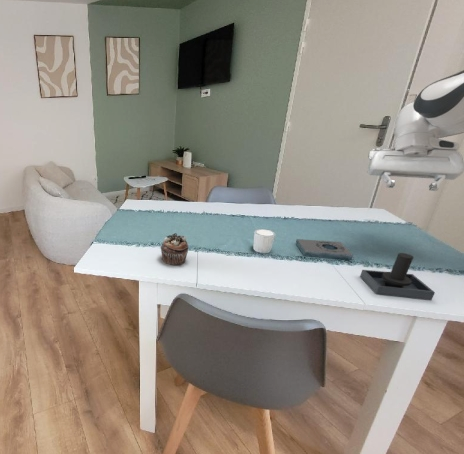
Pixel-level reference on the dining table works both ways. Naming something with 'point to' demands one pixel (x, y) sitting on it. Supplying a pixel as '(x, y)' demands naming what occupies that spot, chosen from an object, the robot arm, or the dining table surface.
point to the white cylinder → (263, 240)
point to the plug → (399, 272)
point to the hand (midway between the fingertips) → (411, 188)
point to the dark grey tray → (378, 286)
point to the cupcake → (174, 249)
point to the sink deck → (324, 249)
